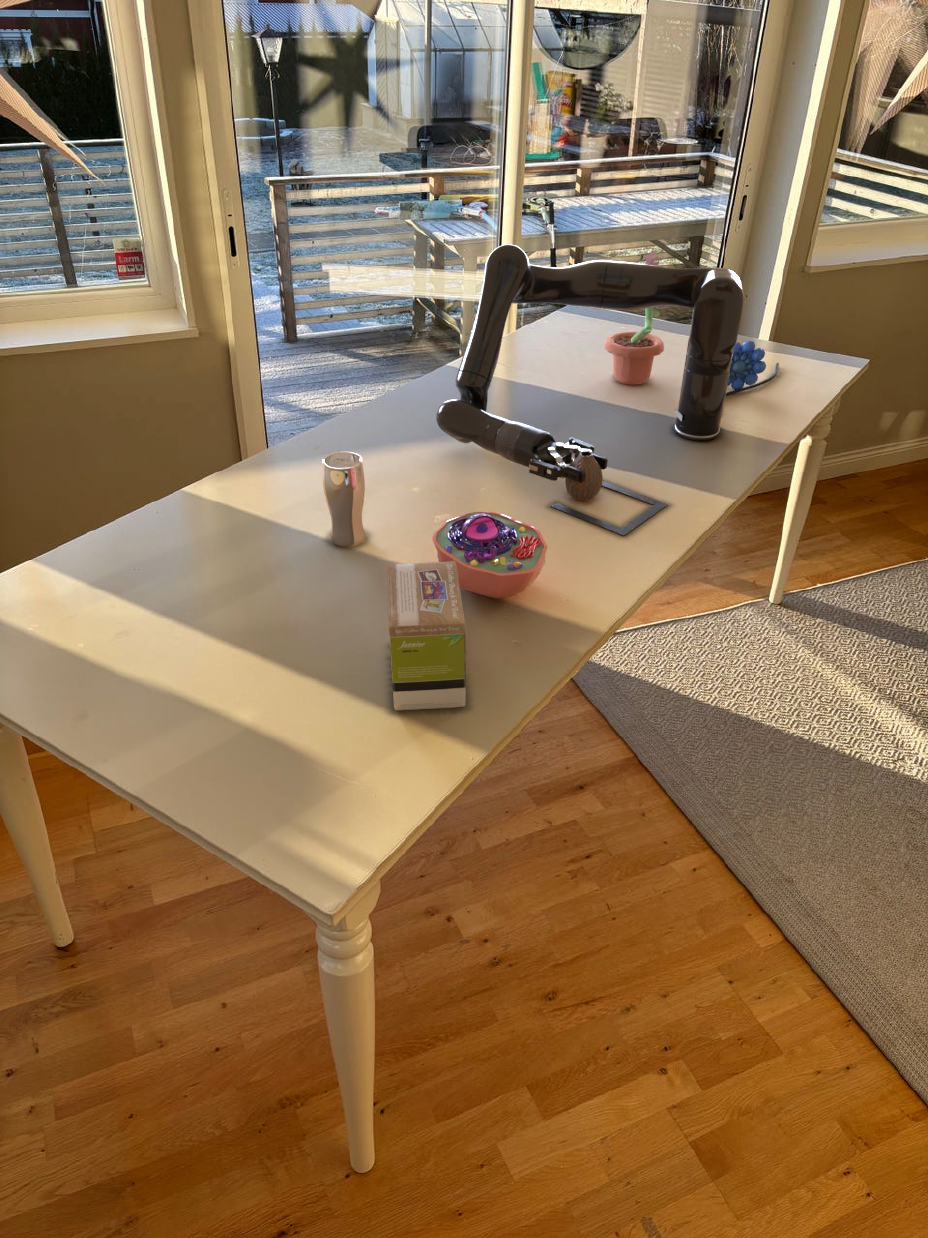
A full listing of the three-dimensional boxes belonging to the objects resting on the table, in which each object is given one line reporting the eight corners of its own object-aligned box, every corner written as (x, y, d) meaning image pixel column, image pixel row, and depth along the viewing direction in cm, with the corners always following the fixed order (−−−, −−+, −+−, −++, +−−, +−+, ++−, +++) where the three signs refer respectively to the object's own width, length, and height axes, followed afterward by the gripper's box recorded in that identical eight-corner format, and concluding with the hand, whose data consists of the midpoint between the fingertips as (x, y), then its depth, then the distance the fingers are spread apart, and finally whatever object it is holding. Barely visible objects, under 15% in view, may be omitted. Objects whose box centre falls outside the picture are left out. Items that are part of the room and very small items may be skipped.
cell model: (472, 631, 140) (474, 568, 134) (416, 567, 154) (415, 507, 148) (567, 602, 147) (573, 541, 140) (505, 544, 161) (507, 485, 154)
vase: (598, 506, 172) (603, 463, 167) (561, 502, 173) (565, 459, 168) (602, 489, 178) (606, 447, 172) (566, 485, 179) (569, 443, 173)
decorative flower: (620, 363, 232) (634, 237, 214) (671, 375, 225) (689, 246, 208) (591, 381, 222) (603, 250, 204) (643, 394, 216) (660, 261, 198)
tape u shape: (595, 478, 181) (596, 478, 181) (667, 505, 173) (667, 504, 173) (550, 507, 172) (550, 506, 172) (623, 536, 163) (624, 535, 163)
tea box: (390, 645, 137) (386, 560, 129) (458, 642, 138) (458, 558, 129) (392, 713, 125) (388, 624, 116) (466, 709, 126) (468, 621, 117)
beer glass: (374, 531, 164) (370, 454, 155) (358, 551, 158) (352, 472, 150) (338, 525, 166) (332, 448, 157) (321, 544, 160) (313, 465, 152)
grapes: (763, 388, 220) (774, 337, 212) (758, 398, 215) (768, 347, 208) (714, 379, 223) (723, 330, 216) (708, 389, 219) (716, 339, 211)
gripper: (501, 438, 173) (574, 465, 164) (547, 415, 182) (619, 439, 173) (499, 474, 177) (571, 503, 168) (545, 450, 186) (614, 475, 177)
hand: (595, 470), depth 171 cm, fingers closed on vase, 6 cm apart
